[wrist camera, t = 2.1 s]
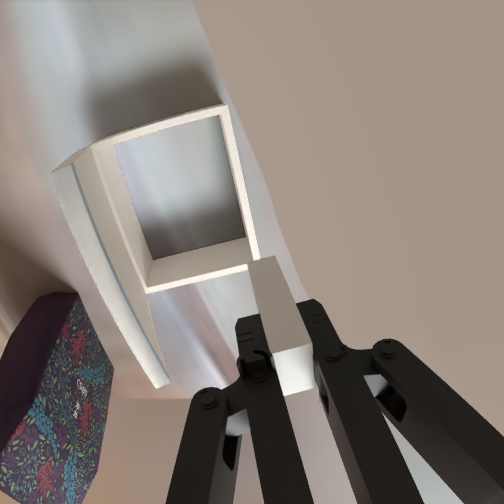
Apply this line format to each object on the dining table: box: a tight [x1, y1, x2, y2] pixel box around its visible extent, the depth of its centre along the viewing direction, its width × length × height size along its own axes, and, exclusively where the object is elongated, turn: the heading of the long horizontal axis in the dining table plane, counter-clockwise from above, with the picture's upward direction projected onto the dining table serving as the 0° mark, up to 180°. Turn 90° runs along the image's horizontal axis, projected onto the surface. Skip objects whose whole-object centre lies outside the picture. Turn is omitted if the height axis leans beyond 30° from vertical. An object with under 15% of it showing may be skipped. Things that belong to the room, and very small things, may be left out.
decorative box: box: [0, 292, 114, 504], centre depth 29 cm, size 8×16×28 cm, turn 5°
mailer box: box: [87, 103, 260, 294], centre depth 32 cm, size 16×13×6 cm
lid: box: [50, 145, 171, 389], centre depth 23 cm, size 16×13×1 cm
